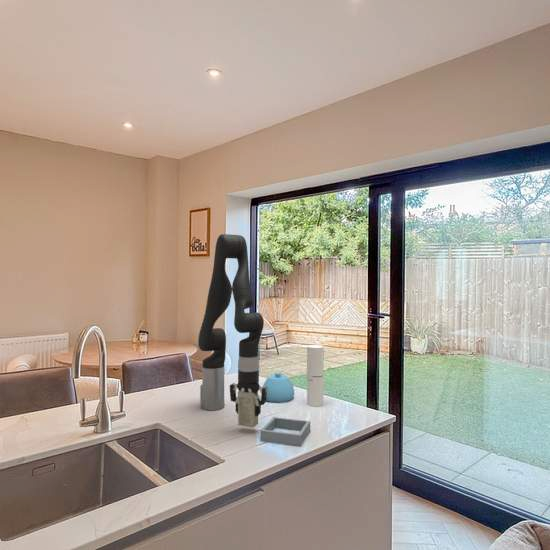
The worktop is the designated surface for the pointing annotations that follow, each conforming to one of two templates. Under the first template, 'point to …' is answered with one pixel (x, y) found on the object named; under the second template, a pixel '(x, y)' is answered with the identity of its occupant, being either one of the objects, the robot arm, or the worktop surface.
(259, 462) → the worktop surface
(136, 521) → the worktop surface
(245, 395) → the skincare box
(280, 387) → the sugar bowl
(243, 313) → the robot arm
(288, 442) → the box
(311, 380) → the cylindrical container
